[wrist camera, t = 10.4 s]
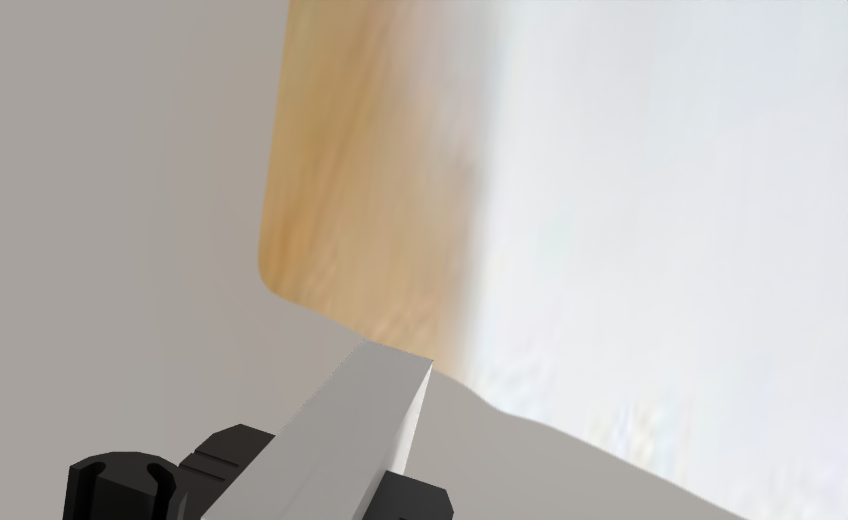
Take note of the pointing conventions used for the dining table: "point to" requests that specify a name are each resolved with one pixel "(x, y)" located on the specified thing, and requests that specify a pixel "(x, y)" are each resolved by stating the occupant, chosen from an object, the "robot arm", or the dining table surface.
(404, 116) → the dining table surface
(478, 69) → the dining table surface
